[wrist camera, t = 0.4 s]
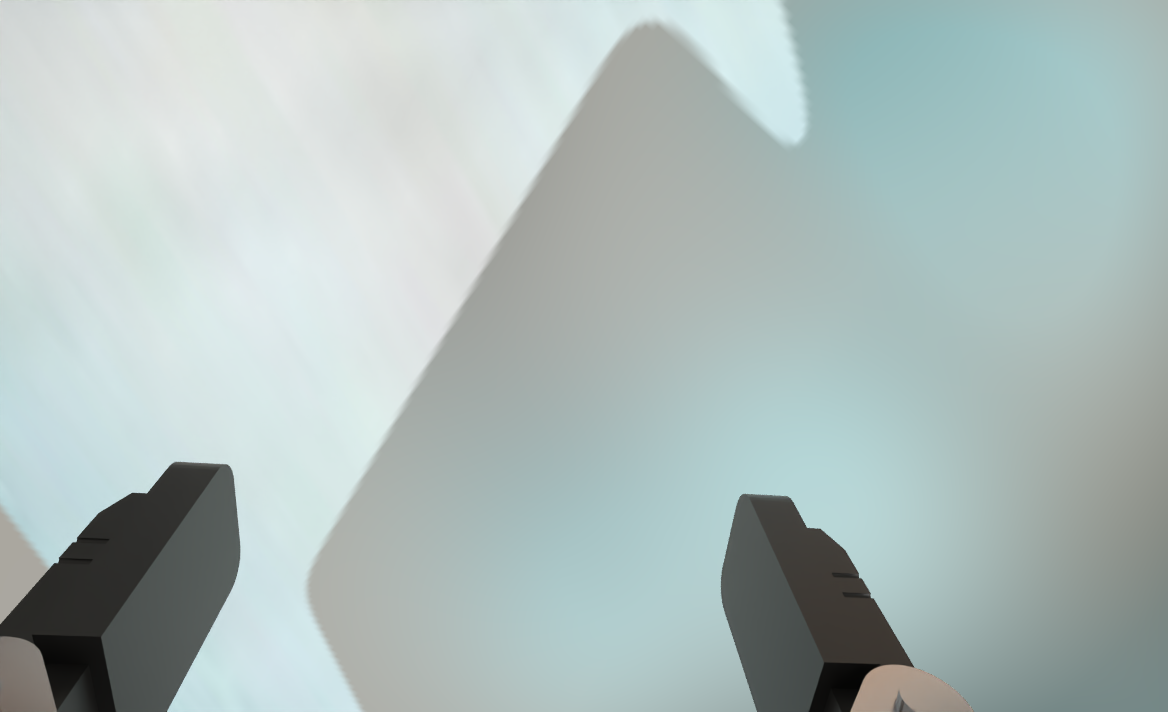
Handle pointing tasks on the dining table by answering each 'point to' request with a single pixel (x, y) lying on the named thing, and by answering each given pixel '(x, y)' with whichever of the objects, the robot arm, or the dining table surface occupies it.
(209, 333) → the dining table surface
